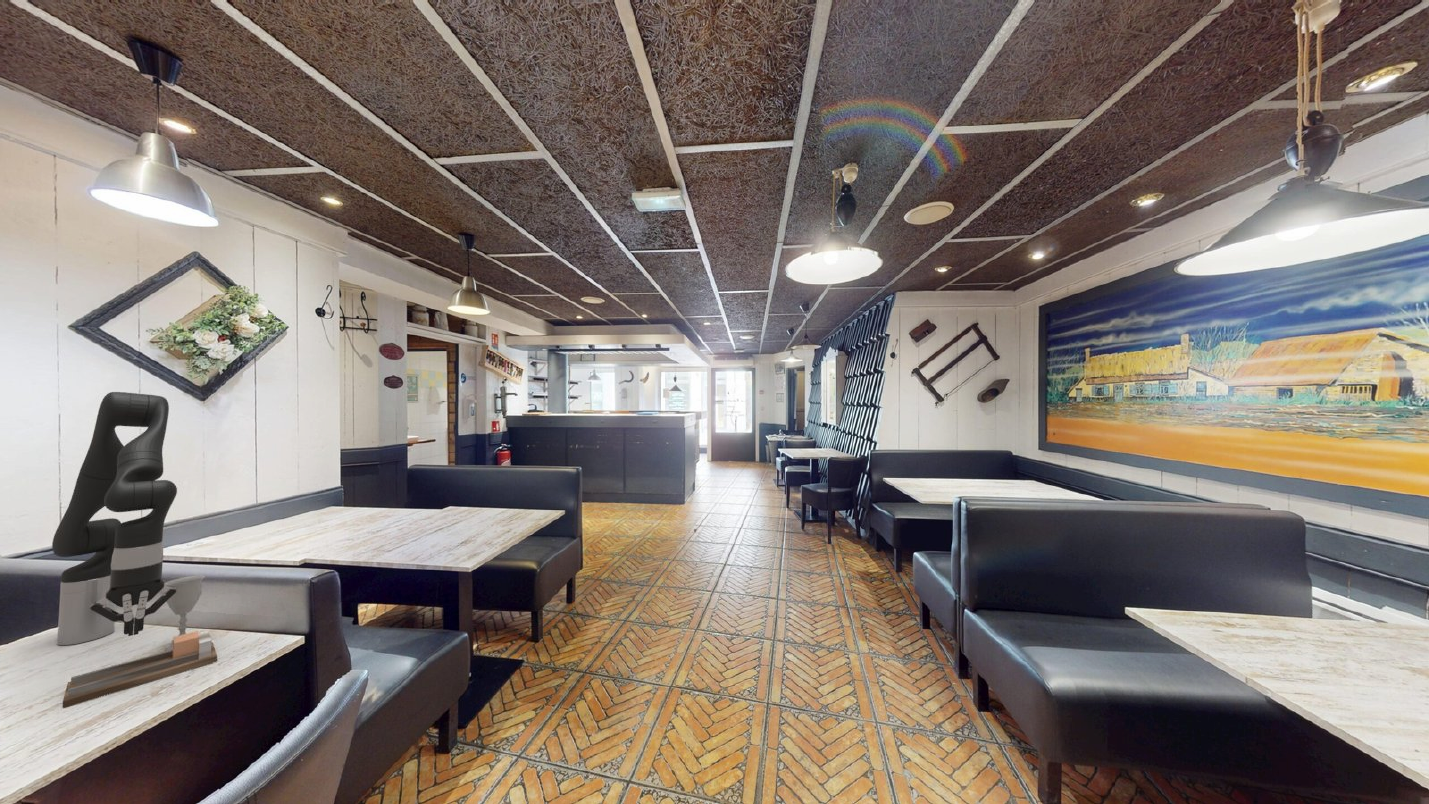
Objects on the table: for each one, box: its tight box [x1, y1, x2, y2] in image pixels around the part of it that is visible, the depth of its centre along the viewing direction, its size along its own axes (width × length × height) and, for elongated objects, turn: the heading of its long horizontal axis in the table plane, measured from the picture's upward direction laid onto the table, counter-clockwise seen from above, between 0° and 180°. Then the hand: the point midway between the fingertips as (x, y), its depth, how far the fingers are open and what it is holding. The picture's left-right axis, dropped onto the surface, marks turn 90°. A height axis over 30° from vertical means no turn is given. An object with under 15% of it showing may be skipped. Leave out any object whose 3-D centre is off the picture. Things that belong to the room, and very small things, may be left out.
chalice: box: [164, 574, 206, 651], centre depth 118 cm, size 7×7×18 cm
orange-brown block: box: [172, 630, 199, 659], centre depth 110 cm, size 5×4×5 cm
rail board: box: [62, 630, 218, 709], centre depth 105 cm, size 11×22×6 cm, turn 144°
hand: (133, 634), depth 103 cm, fingers closed
